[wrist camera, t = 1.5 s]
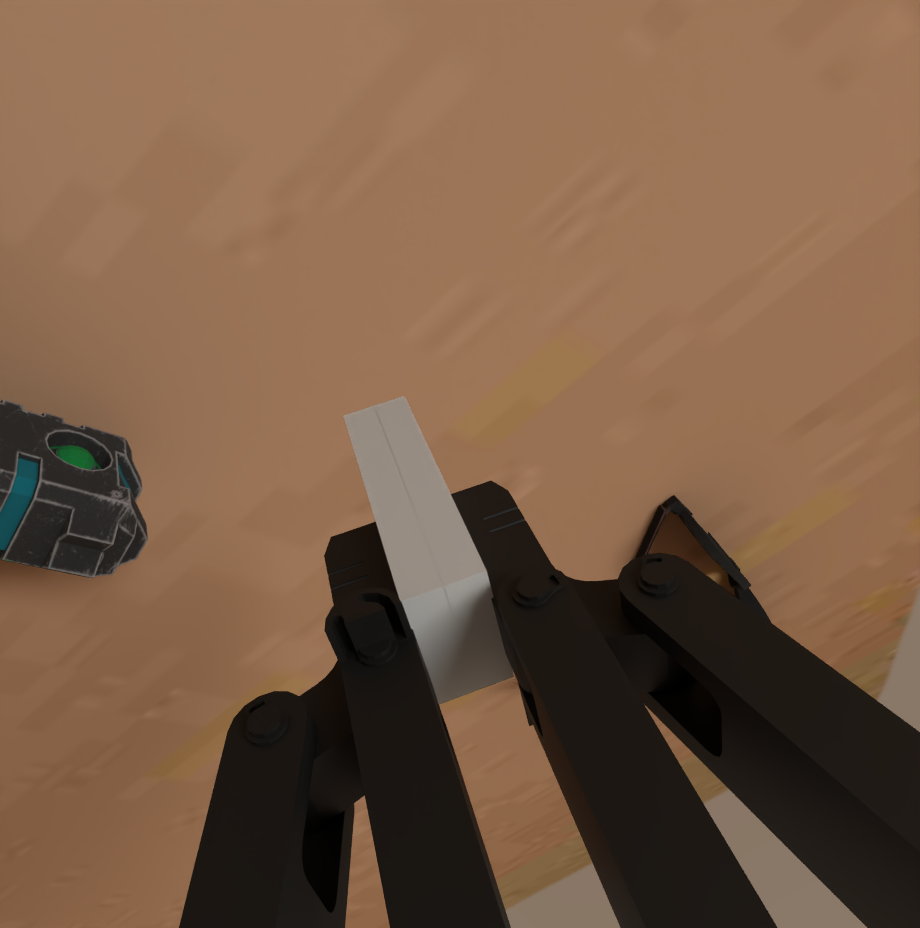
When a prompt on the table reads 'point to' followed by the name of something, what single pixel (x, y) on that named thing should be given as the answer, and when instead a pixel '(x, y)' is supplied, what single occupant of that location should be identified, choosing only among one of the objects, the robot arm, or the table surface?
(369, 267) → the table surface
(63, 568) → the toy gun
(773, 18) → the table surface
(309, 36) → the table surface
